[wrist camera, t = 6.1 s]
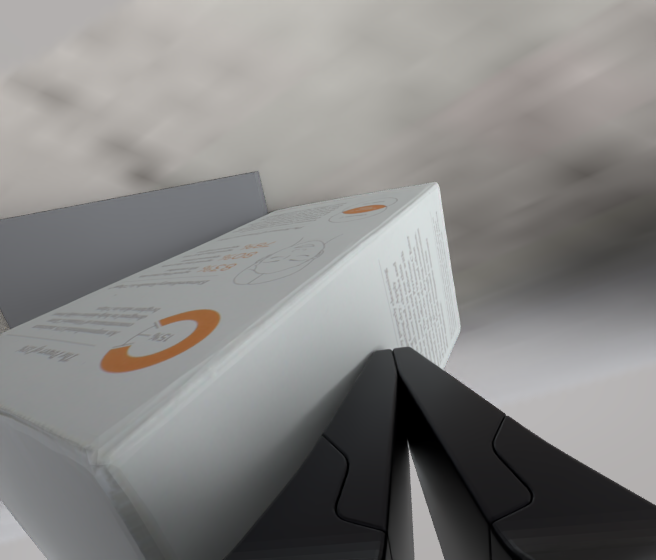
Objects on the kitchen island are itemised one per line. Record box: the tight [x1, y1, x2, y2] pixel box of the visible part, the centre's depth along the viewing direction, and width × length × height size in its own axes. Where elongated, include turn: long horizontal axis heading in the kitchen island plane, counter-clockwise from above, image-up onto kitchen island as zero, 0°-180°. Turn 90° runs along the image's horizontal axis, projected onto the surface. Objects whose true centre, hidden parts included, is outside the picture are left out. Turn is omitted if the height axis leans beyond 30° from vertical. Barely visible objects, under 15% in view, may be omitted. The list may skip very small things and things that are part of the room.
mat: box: [0, 171, 268, 329], centre depth 20 cm, size 15×11×1 cm
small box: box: [0, 182, 461, 560], centre depth 12 cm, size 8×6×13 cm
